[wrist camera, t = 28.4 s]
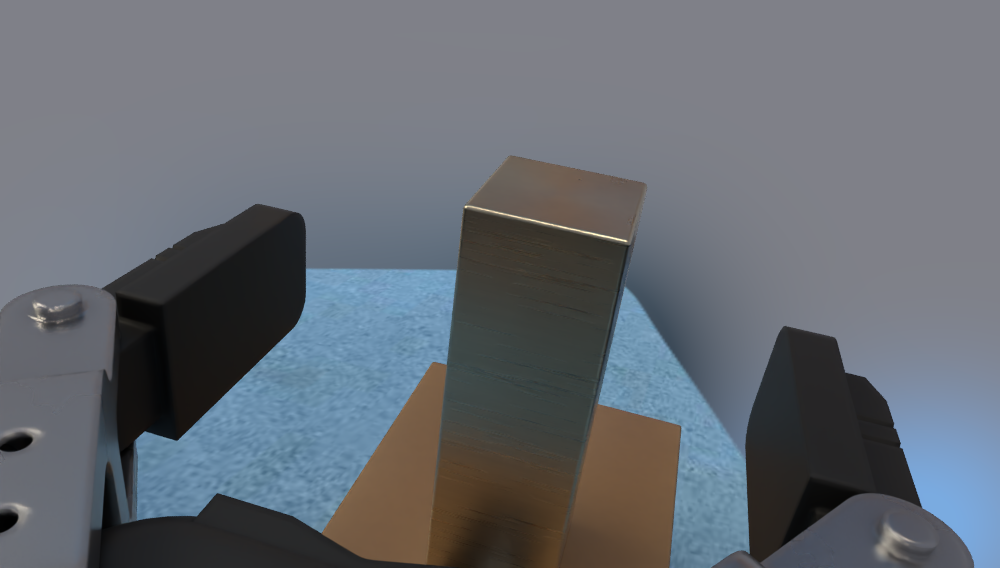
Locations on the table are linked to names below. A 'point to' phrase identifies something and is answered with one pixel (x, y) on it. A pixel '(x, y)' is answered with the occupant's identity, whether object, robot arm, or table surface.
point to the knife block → (598, 507)
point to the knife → (527, 359)
